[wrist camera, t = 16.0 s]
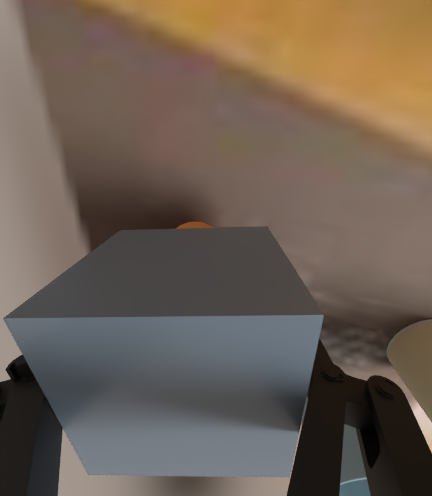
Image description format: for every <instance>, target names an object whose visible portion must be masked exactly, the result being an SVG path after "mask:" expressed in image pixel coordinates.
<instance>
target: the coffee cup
mask: <svg viewBox="0 0 432 496" xmlns="http://www.w3.org/2000/svg"><path fill="white" fill-rule="evenodd" d="M387 357H388V359H389V361H390V363H391V364H392V366H393V367H394V369H395V370H396V372H397V373H398V375H399V376H400V377H401V379H402V380H403V382H404V383H405V385H406V386H407V388H408V389H409V390H410V392H411V393H412V395H413V396H414V398H415V399H416V400H417V402H418V403H419V405H420V406H421V408H422V409H423V410H424V412H425V413H426V415H427V416H428V418H429V419H430V420H431V422H432V319H429V320H423V321H419V322H416V323H413V324H411V325H409V326H407V327H405V328H404V329H402V330H401V331H399V332H398V333H397V334H396V335H395V336H394V337H393V338H392V339H391V341H390V342H389V344H388V347H387Z"/></svg>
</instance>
